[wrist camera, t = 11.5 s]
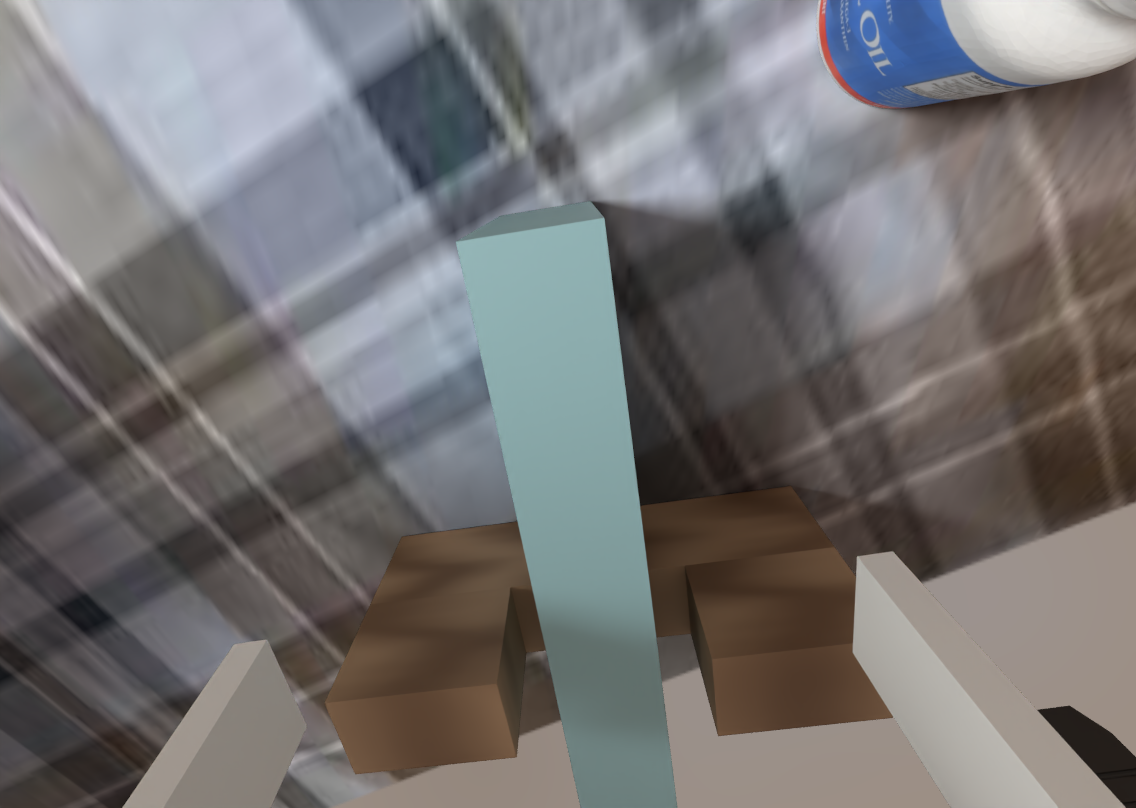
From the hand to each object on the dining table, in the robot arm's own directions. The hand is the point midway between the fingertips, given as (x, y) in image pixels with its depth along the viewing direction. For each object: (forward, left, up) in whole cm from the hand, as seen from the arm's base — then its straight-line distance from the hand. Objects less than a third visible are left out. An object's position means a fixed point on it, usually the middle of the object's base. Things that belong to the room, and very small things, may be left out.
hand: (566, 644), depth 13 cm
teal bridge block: (+1, 0, -10) cm, 10 cm away
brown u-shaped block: (+1, -5, -10) cm, 11 cm away
